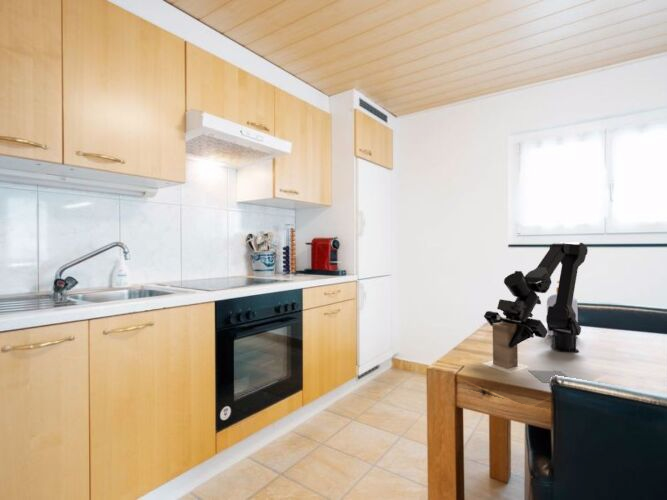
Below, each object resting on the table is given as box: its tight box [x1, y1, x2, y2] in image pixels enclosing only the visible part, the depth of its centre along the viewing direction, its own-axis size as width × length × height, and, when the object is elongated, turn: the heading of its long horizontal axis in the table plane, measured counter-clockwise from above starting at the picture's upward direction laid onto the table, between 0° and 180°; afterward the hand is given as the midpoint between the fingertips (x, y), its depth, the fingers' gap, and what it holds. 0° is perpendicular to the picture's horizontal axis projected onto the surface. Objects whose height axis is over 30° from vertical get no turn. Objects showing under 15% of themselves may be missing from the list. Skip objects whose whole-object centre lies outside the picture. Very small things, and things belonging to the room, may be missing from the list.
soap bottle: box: [546, 280, 579, 338], centre depth 141 cm, size 9×7×23 cm
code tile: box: [480, 359, 530, 374], centre depth 108 cm, size 10×10×1 cm
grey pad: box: [528, 369, 569, 384], centre depth 98 cm, size 9×9×1 cm
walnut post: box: [492, 322, 519, 369], centre depth 108 cm, size 5×5×13 cm
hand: (502, 344), depth 107 cm, fingers closed on walnut post, 5 cm apart
